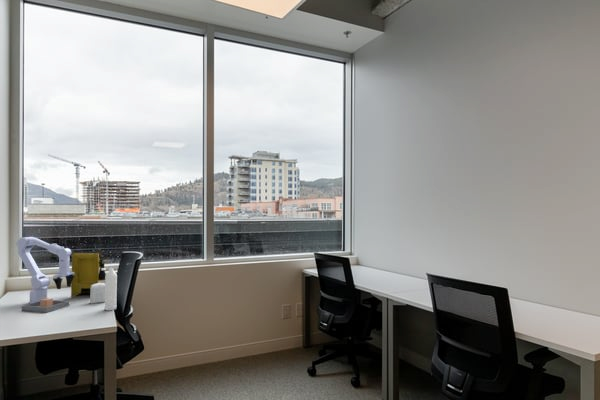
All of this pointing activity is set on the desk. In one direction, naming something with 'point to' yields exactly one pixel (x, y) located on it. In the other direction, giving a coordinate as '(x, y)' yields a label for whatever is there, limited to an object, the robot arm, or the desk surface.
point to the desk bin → (36, 307)
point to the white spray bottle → (110, 289)
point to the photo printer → (97, 293)
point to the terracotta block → (46, 302)
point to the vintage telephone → (86, 272)
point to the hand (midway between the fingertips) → (63, 287)
